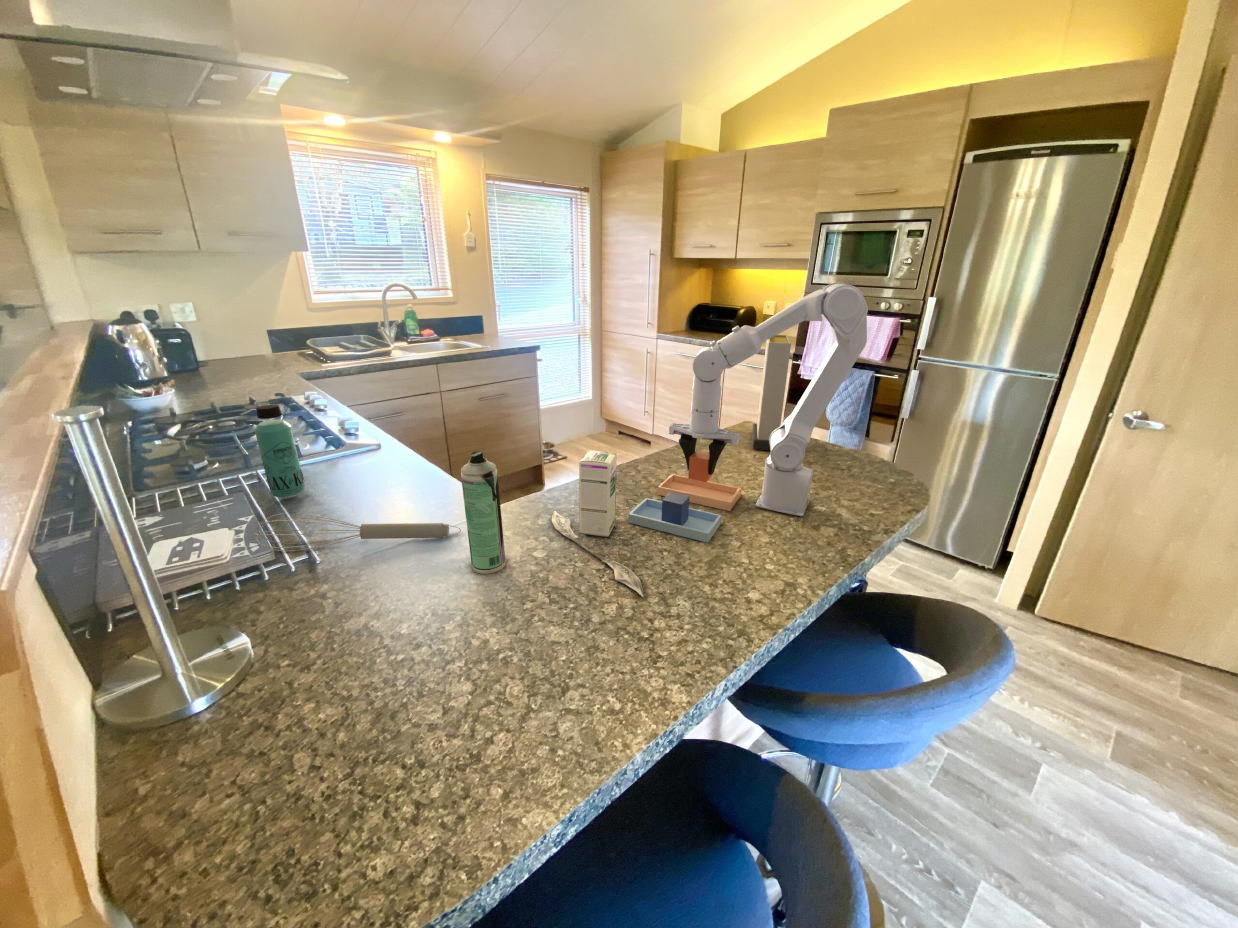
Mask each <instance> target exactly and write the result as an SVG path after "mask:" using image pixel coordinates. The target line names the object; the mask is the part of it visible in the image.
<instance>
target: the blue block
mask: <svg viewBox="0 0 1238 928" xmlns="http://www.w3.org/2000/svg"><path fill="white" fill-rule="evenodd" d="M689 498H690V496H686V495H681V494H677V493H672V492H670V493H669V494H668V495H667V496H666V497H665V496H664V497H663V499H662V500H661V501H662V518H661V521H664V522H669V523H673V524H677V525H681V526H683V525H684V524H685V522H686V521H687V520H688V513H689V508H690V502H689Z"/></svg>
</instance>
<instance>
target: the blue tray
mask: <svg viewBox="0 0 1238 928" xmlns="http://www.w3.org/2000/svg"><path fill="white" fill-rule="evenodd" d="M722 516H723V515H722V514H720V513H719V514H718V513H713V512H709V511H706V510H701V509H696V508H692V507H689V513H688V520H687V521H686V522H685V524H684V525H683V526H681V525H677V524H673V523H669V522H664V521H661V518H662V500H657V499H654V498H648V497H645V498H644V499H643V500H642V501H641V502H640V503H638V505H636V506H635V507H634V508H633V509H632V510H631V511H630V512H628V523H629V524H633V525H636V526H639V527H645V528H648V529H653V530H655V531H660V532H664V533H667V534H668V533H669V534H672V535H675V536H680V537H685V538H688V539H692V540H695V541H699V542H702V543H707V544H708V543H709V542H710V541H711V539H712V537H713V536H714V534H716V532H717V530H718V529H719V527H720V526H721V524H722Z"/></svg>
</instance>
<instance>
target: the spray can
mask: <svg viewBox="0 0 1238 928" xmlns="http://www.w3.org/2000/svg"><path fill="white" fill-rule="evenodd" d="M470 457H471V458H470V459H469V460H468V463H466V464H464V465H463V466H461V468H460V479H461V486H462V487H461V488H462V497H463V505H464V512H465V513H464V515H465V520H466V521H465V522H466V530H467V537H468V546H469V553H470V555H469V556H470V562H471V569H472V570H473V571H474V572H475V573H477V574H483V575H488V574H489V575H490V574H494V573H497V572H499V571H501V570H503V568H504V567H505V566H506V550H505V541H504V539H505V538H504V529H503V528H504V527H503V519H502V508H501V496H500V486H499V473H498V469H497V465H496V464H495V463H494V462H492V461H490V460H489V461H488V459H487V458H486V457H485V456H484V453H483V451H480V450H476V451H473V452H472V453H471V455H470Z"/></svg>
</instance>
